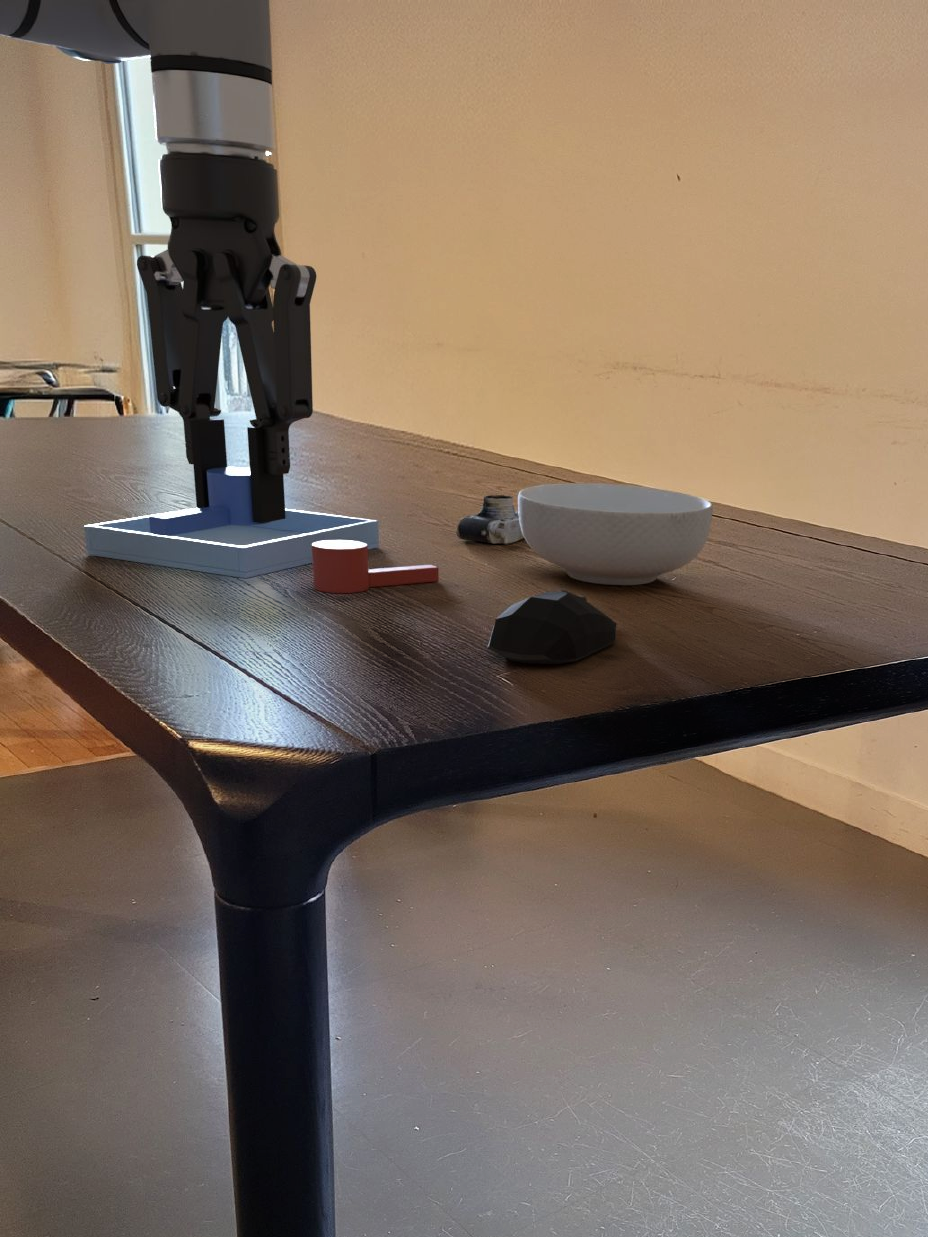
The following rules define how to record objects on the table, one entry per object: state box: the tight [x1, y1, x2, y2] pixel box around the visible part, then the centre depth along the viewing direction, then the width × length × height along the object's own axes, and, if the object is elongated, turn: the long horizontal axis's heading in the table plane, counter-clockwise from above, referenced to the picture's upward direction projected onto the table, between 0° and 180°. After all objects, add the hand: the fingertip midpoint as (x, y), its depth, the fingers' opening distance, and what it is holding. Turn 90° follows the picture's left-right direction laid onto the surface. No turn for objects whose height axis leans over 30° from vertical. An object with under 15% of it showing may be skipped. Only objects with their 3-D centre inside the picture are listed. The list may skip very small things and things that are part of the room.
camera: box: [455, 494, 525, 545], centre depth 131 cm, size 5×10×4 cm, turn 152°
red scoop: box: [312, 540, 440, 594], centre depth 106 cm, size 11×4×4 cm, turn 126°
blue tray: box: [83, 507, 380, 579], centre depth 118 cm, size 17×19×2 cm
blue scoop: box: [149, 466, 272, 536], centre depth 92 cm, size 11×4×4 cm, turn 156°
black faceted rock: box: [487, 589, 617, 665], centre depth 90 cm, size 6×15×4 cm, turn 154°
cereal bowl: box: [517, 482, 714, 586], centre depth 114 cm, size 17×17×7 cm
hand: (241, 515), depth 95 cm, fingers closed on blue scoop, 4 cm apart
